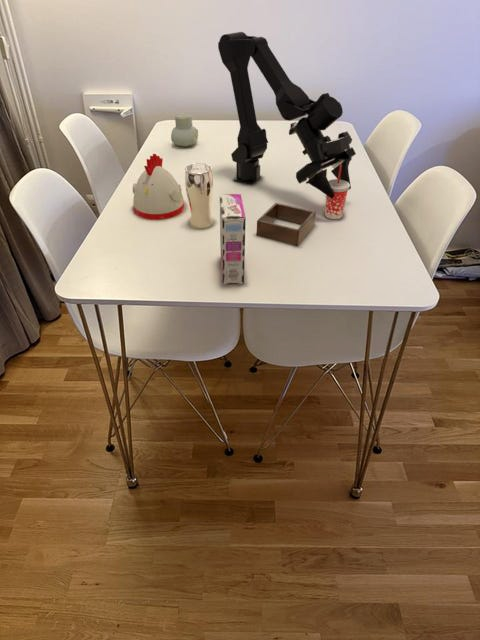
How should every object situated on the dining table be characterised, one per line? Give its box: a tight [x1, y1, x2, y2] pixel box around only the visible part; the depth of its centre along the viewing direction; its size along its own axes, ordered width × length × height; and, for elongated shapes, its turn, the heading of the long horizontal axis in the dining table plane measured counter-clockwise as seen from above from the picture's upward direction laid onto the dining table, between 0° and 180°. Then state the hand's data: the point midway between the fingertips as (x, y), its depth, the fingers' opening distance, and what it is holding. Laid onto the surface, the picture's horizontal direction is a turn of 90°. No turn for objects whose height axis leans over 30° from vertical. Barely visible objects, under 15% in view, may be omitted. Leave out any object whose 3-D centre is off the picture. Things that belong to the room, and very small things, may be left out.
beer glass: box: [184, 162, 214, 230], centre depth 118 cm, size 7×7×15 cm
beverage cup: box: [324, 165, 351, 220], centre depth 121 cm, size 6×6×14 cm
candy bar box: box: [219, 193, 247, 286], centre depth 100 cm, size 11×5×16 cm, turn 5°
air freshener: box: [170, 112, 199, 147], centre depth 164 cm, size 11×8×10 cm
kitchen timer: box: [132, 153, 185, 221], centre depth 124 cm, size 14×14×15 cm
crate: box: [256, 202, 317, 247], centre depth 118 cm, size 11×11×4 cm
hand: (341, 193), depth 121 cm, fingers open, 7 cm apart
